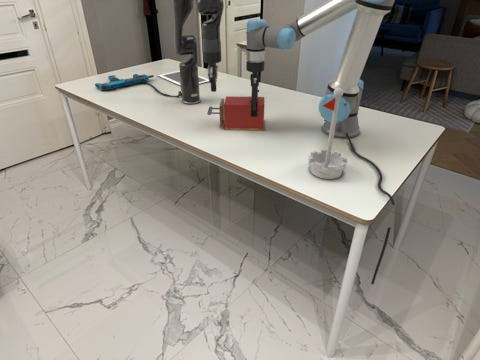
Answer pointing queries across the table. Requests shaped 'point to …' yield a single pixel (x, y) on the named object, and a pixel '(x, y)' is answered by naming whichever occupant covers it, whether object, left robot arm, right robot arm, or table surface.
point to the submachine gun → (122, 81)
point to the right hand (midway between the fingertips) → (254, 111)
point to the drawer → (221, 109)
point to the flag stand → (329, 148)
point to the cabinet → (243, 113)
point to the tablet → (176, 78)
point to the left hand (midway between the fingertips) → (213, 91)
